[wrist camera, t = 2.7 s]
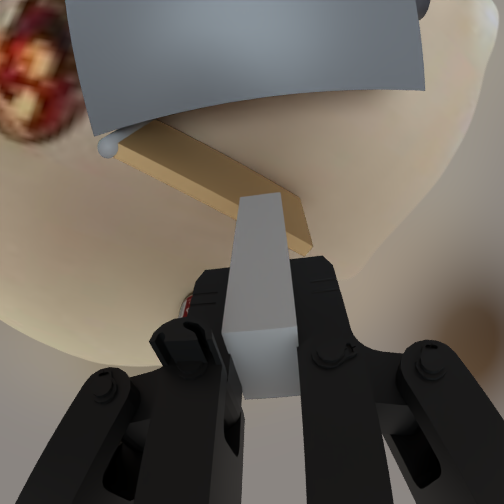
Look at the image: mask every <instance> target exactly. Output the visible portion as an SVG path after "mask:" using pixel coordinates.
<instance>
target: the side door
mask: <svg viewBox="0 0 504 504" xmlns="http://www.w3.org/2000/svg"><path fill="white" fill-rule="evenodd" d="M98 152H99V154H100V155H101V156H102V157H104V158H111V157H114V158H116V159H118V160H120V161H122V162H124V163H126V164H128V165H130V166H132V167H134V168H135V169H137V170H139V171H141V172H143V173H145V174H147V175H149V176H151V177H153V178H155V179H157V180H159V181H161V182H163V183H165V184H167V185H169V186H171V187H173V188H175V189H177V190H179V191H181V192H183V193H185V194H187V195H188V196H190V197H192V198H194V199H196V200H198V201H200V202H202V203H204V204H206V205H208V206H210V207H212V208H214V209H215V210H217V211H219V212H221V213H223V214H225V215H227V216H229V217H231V218H233V219H235V220H236V221H237V215H238V208H239V201H240V197H246V196H253V195H261V194H268V193H276V192H280V193H281V200H282V207H283V215H284V222H285V230H286V237H287V245H288V248H289V249H291V250H293V251H295V252H296V253H298V254H300V255H302V256H304V257H305V256H306V254H307V253H308V252H309V251H310V250H311V248H312V247H313V244H312V241H311V237H310V233H309V229H308V226H307V222H306V218H305V215H304V211H303V208H302V204H301V201H300V198H299V197H297V196H295V195H294V194H292V193H290V192H289V191H287V190H285V189H284V188H282V187H280V186H279V185H277V184H275V183H273V182H272V181H270V180H268V179H267V178H265V177H263V176H261V175H260V174H258V173H256V172H254V171H253V170H251V169H249V168H247V167H245V166H244V165H242V164H240V163H238V162H236V161H235V160H233V159H231V158H229V157H227V156H225V155H224V154H222V153H220V152H218V151H216V150H214V149H212V148H211V147H209V146H207V145H205V144H203V143H201V142H199V141H197V140H195V139H193V138H191V137H190V136H188V135H186V134H184V133H182V132H180V131H178V130H176V129H174V128H172V127H170V126H168V125H166V124H164V123H162V122H160V121H158V120H156V118H155V119H151V120H147V121H144V122H140V123H137V124H133V125H130V126H126V127H123V128H120V129H118V130H116V131H114V132H112V133H111V134H109V135H107V136H106V137H104V138H102V139H101V140H100V141H99V143H98Z"/></svg>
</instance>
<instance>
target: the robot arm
mask: <svg viewBox="0 0 504 504" xmlns="http://www.w3.org/2000/svg"><path fill="white" fill-rule="evenodd" d="M149 343H150V344H151V346H152V348H153V350H154V351H155V353H156V355H157V357H158V358H159V360H160V362H161V363H162V365H163V367H161V368H160V369H157V370H154V371H152V372H148V373H144V374H141V375H137V376H133V377H128V375H127V374H126V372H124V371H123V370H121V369H119V368H112V367H109V368H104V369H100V370H99V371H97V372H95V373H94V374H92V375H91V376H90V378H89V379H88V380H87V381H86V382H85V383H84V385H83V386H82V388H81V390H80V391H79V393H78V394H77V396H76V397H75V399H74V401H73V402H72V404H71V406H70V407H69V409H68V411H67V412H66V414H65V415H64V417H63V419H62V420H61V422H60V424H59V425H58V427H57V429H56V430H55V432H54V434H53V436H52V437H51V439H50V441H49V442H48V444H47V446H46V448H45V449H44V451H43V453H42V455H41V456H40V458H39V460H38V462H37V464H36V465H35V467H34V469H33V471H32V473H31V474H30V476H29V478H28V480H27V482H26V484H25V486H24V488H23V490H22V491H21V493H20V495H19V497H18V500H17V501H16V503H15V504H241V494H242V471H243V447H244V423H245V419H244V413H243V410H242V407H241V401H242V393H243V395H244V398H245V400H246V399H262V398H277V397H288V396H299V395H301V407H302V421H303V436H304V453H305V472H306V493H307V504H394V503H393V496H392V490H391V483H390V477H389V471H388V465H387V459H386V454H385V449H384V443H383V439H382V434H383V436H384V438H385V440H386V442H387V444H388V446H389V448H390V450H391V452H392V454H393V456H394V458H395V460H396V462H397V464H398V466H399V469H400V471H401V473H402V475H403V477H404V479H405V481H406V483H407V485H408V487H409V489H410V491H411V493H412V495H413V497H414V499H415V501H416V504H504V420H503V418H502V417H501V415H500V414H499V412H498V411H497V410H496V408H495V407H494V405H493V404H492V402H491V401H490V399H489V398H488V397H487V395H486V394H485V392H484V391H483V389H482V388H481V387H480V385H479V384H478V383H477V381H476V380H475V378H474V377H473V376H472V374H471V373H470V371H469V370H468V369H467V367H466V366H465V365H464V363H463V362H462V361H461V359H460V358H459V357H458V356H457V354H456V353H455V352H454V351H453V350H452V349H451V348H450V347H449V346H447V345H446V344H444V343H441V342H439V341H434V340H423V341H419V342H415V343H414V344H412V345H411V346H410V347H408V348H407V349H406V350H405V352H404V354H401V353H390V352H382V351H377V350H373V349H371V348H368V347H366V346H364V345H363V344H362V343H360V342H359V341H358V340H357V339H356V338H355V336H354V335H353V333H352V331H351V328H350V324H349V320H348V317H347V313H346V309H345V306H344V302H343V299H342V295H341V292H340V289H339V285H338V281H337V279H336V274H335V271H334V268H333V265H332V264H331V263H330V262H329V261H328V260H327V259H326V258H325V257H324V256H315V257H307V258H298V259H290V260H289V253H288V245H287V237H286V230H285V222H284V215H283V207H282V200H281V193H280V192H276V193H268V194H261V195H253V196H246V197H240V201H239V208H238V215H237V222H236V229H235V236H234V243H233V250H232V257H231V264H230V267H229V268H220V269H211V270H205V271H204V272H203V273H202V275H201V276H200V277H199V278H198V279H197V281H196V283H195V287H194V290H193V296H192V298H191V302H190V307H189V310H188V314H187V317H182V318H177V319H173V320H171V321H169V322H167V323H165V324H163V325H162V326H161V327H159V328H158V329H157V330H156V331H155V332H154V333H153V335H152V337H151V339H150V341H149Z"/></svg>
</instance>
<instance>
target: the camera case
mask: <svg viewBox="0 0 504 504" xmlns="http://www.w3.org/2000/svg"><path fill="white" fill-rule="evenodd" d="M65 2H66V10H67V16H68V23H69V29H70V35H71V41H72V46H73V51H74V56H75V61H76V66H77V71H78V75H79V80H80V84H81V88H82V93H83V97H84V101H85V105H86V108H87V112H88V116H89V120H90V123H91V127H92V131H93V134H94V136H97V135H100V134H104V133H107V132H110V131H113V130H116V129H119V128H123V127H126V126H130V125H133V124H137V123H140V122H144V121H147V120H151V119H155V118H159V117H163V116H167V115H171V114H175V113H180V112H184V111H189V110H193V109H198V108H203V107H208V106H213V105H218V104H224V103H230V102H235V101H242V100H248V99H255V98H262V97H270V96H278V95H287V94H297V93H308V92H321V91H338V90H373V89H386V90H420V91H425V78H424V64H423V52H422V43H421V34H420V27H419V20H421V19H422V18H423V17H424V15H425V14H426V12H427V10H428V7H429V4H430V0H65Z"/></svg>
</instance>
